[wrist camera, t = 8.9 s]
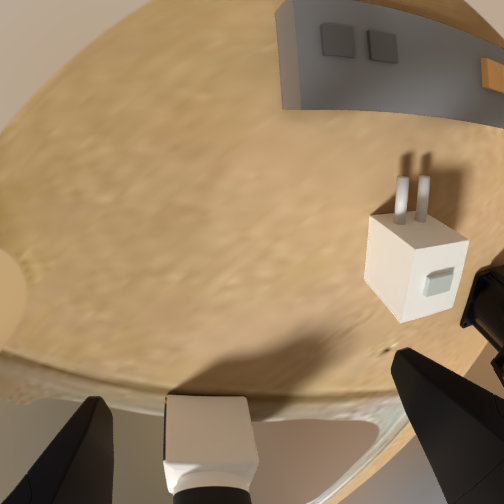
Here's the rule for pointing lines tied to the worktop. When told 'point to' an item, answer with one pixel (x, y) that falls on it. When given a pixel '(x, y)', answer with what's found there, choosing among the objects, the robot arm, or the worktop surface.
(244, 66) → the worktop surface
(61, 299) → the worktop surface
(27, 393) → the worktop surface
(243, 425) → the medicine bottle
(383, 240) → the charger
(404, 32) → the power strip
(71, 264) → the worktop surface
